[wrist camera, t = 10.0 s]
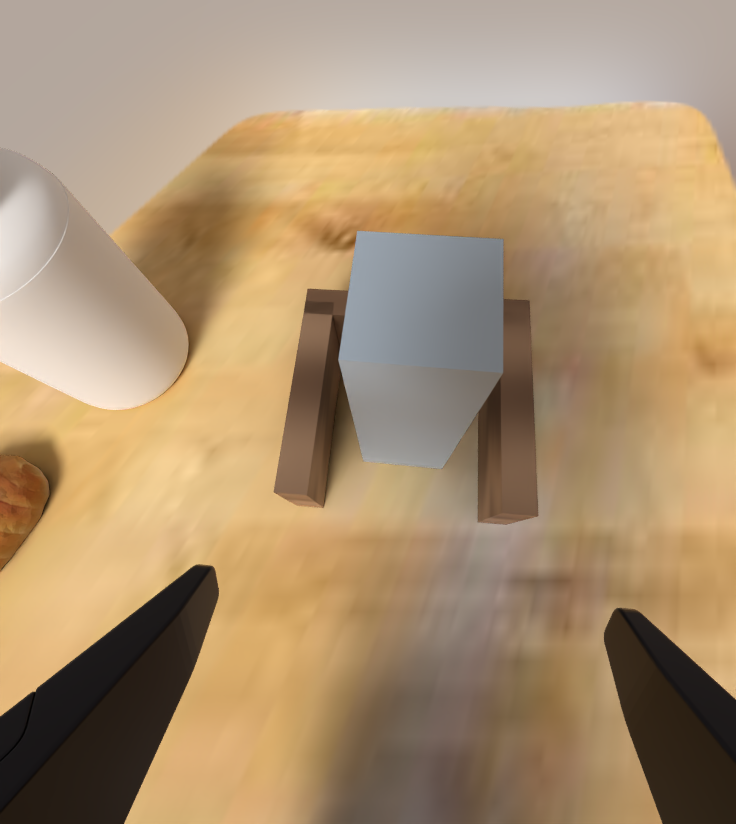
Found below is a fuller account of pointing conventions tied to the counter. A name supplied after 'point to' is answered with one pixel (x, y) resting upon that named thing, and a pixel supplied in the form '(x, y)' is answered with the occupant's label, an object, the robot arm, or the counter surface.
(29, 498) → the pastry
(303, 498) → the brown wooden tray
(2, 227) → the pill bottle
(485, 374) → the block
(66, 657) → the counter surface
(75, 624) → the counter surface
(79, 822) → the robot arm
